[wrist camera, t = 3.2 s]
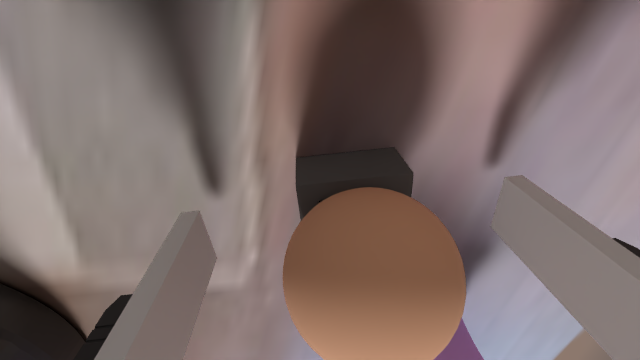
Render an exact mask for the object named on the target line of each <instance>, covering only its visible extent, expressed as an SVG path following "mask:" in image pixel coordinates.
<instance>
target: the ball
mask: <svg viewBox="0 0 640 360" xmlns="http://www.w3.org/2000/svg"><path fill="white" fill-rule="evenodd" d="M283 289H284V295H285V300H286V304H287V307H288V310H289V313H290V316H291V318H292V320H293V322H294V324H295V326H296V328H297V329H298V331H299V333H300V335H301V336H302V337H303V338H304V340H305V341H306V342H307V344H308V345H309V346H310V347H311V348H312V349H313V350H314V351H315V352H316V353H317V354H318V355H320V356H321V357H322V358H323V359H324V360H433V359H435V358H436V357H437V356H438V355H439V354H440V353H441V352H442V351H443V350H444V349H445V347H446V346H447V345H448V344H449V342H450V341H451V339H452V337H453V336H454V334H455V332H456V330H457V329H458V326H459V323H460V320H461V318H462V315H463V311H464V305H465V299H466V276H465V271H464V266H463V262H462V258H461V255H460V253H459V250H458V247H457V245H456V243H455V241H454V239H453V238H452V236H451V234H450V233H449V231H448V230H447V228H446V227H445V226H444V224H443V223H442V222H441V221H440V220H439V218H438V217H437V216H436V215H435V214H433V213H432V212H431V211H430V210H429V209H428V208H426V207H425V206H424V205H422V204H421V203H419V202H418V201H416V200H414V199H413V198H411V197H409V196H407V195H404V194H402V193H399V192H396V191H393V190H389V189H384V188H376V187H363V188H355V189H350V190H346V191H343V192H340V193H337V194H335V195H332V196H330V197H328V198H327V199H325V200H323V201H322V202H320V203H319V204H317V205H316V206H315V207H314V208H313V209H312V210H311V211H310V212H309V213H308V214H307V215H306V216H305V217H304V218H303V219H302V220H301V222H300V223H299V225H298V226H297V228H296V230H295V231H294V233H293V235H292V237H291V239H290V242H289V244H288V247H287V250H286V254H285V258H284V265H283Z"/></svg>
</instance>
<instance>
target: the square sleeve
mask: <svg viewBox="0 0 640 360" xmlns="http://www.w3.org/2000/svg"><path fill="white" fill-rule="evenodd" d="M412 183H413V172H412V170H411V169H410V168H409V166H408V165H407V164H406V162H405V161H404V160H403V158H402V157H401V156H400V154H399V153H398V152H397V150H396V149H395V148H394V147H393V148H384V149H374V150H365V151H356V152H346V153H337V154H328V155H318V156H309V157H300V158H296V191H297V198H298V205H299V211H300V218H301V220H302V219H303V218H304V217H305V216H306V215H307V214H308V213H309V212H310V211H311V210H312V209H313V208H314V207H315V206H316V205H317V204H318V201H319V200H325V199H327V198H328V197H330V196H332V195H335V194H337V193H340V192H343V191H346V190H350V189H355V188H363V187H376V188H384V189H389V190H393V191H396V192H399V193H402V194H404V195H407V196H409V197H411V194H412Z"/></svg>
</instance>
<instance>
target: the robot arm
mask: <svg viewBox="0 0 640 360" xmlns="http://www.w3.org/2000/svg"><path fill="white" fill-rule="evenodd" d="M491 228H492V229H493V230H494V231H495V232H496V233H497V234H498V236H499V237H500V238H501V239H502V240H503V241H504V242H505V243H506V244H507V245H508V246H509V247H510V249H511V250H512V251H513V252H514V253H515V254H516V255H517V256H518V257H519V258H520V259H521V260H522V262H523V263H524V264H525V265H526V266H527V267H528V268H529V269H530V270H531V271H532V272H533V273H534V275H535V276H536V277H537V278H538V279H539V280H540V281H541V282H542V283H543V284H544V285H545V286H546V288H547V289H548V290H549V291H550V292H551V293H552V294H553V295H554V296H555V297H556V298H557V299H558V301H559V302H560V303H561V304H562V305H563V306H564V307H565V308H566V309H567V310H568V311H569V313H570V314H571V315H572V316H573V317H574V318H575V319H576V320H577V321H578V322H579V323H580V324H581V326H582V327H583V328H584V329H585V330H586V331H587V332H588V333H589V334H590V335H591V336H592V337H593V338H594V340H595V341H596V342H597V343H598V344H599V345H600V346H601V347H602V348H603V349H604V350H605V351H606V353H607V354H608V355H609V356H610V357H611V358H612V359H613V360H640V250H639V249H638V248H636V247H634V246H631V245H629V244H627V243H625V242H623V241H621V240H619V239H616V238H611V237H609V236H608V235H606V234H605V233H603V232H602V231H601V230H599V229H598V228H596V227H595V226H594V225H592V224H591V223H589V222H588V221H586V220H585V219H584V218H582V217H581V216H579V215H578V214H576V213H575V212H574V211H572V210H571V209H569V208H568V207H567V206H565V205H564V204H562V203H561V202H559V201H558V200H557V199H555V198H554V197H552V196H551V195H549V194H548V193H547V192H545V191H544V190H542V189H541V188H539V187H538V186H537V185H535V184H534V183H532V182H531V181H530V180H528V179H527V178H525V177H524V176H522V175H520V176H511V177H505V178H504V181H503V185H502V188H501V192H500V195H499V199H498V202H497V206H496V209H495V213H494V216H493V220H492V223H491ZM216 259H217V257H216V254H215V251H214V248H213V246H212V243H211V240H210V238H209V235H208V232H207V230H206V227H205V224H204V222H203V219H202V216H201V214H200V211H192V212H183V213H181V214H180V216H179V217H178V219H177V221H176V222H175V224H174V226H173V227H172V229H171V231H170V232H169V234H168V236H167V237H166V239H165V241H164V243H163V244H162V246H161V248H160V249H159V251H158V253H157V254H156V256H155V258H154V259H153V261H152V263H151V264H150V266H149V268H148V269H147V271H146V273H145V275H144V276H143V278H142V280H141V281H140V283H139V285H138V286H137V288H136V290H135V291H134V293H133V294H130V295H121V296H120V297H119V298H118V299H117V300H116V301H115V302H114V303H113V304H112V305H110V306H109V307H108V308H107V309H106V310H105V312H104V313H103V315H102V316H101V318H100V319H99V321H98V323H97V324H96V326H95V329H94V330H92V332H91V333H90V335H89V336H88V338H87V339H86V343H85V341H84V340H83V338H82V337H81V336H80V334H79V333H78V332H77V331H76V330H75V329H74V328H73V327H72V326H71V325H70V324H69V323H68V322H67V321H66V320H64V319H63V318H62V317H61V316H59V315H58V314H57V313H55V312H54V311H52V310H51V309H49V308H48V307H46V306H45V305H43V304H41V303H40V302H38V301H36V300H34V299H32V298H31V297H29V296H27V295H25V294H23V293H20V292H18V291H16V290H14V289H12V288H9V287H7V286H5V285H2V284H0V360H183V358H184V355H185V352H186V349H187V346H188V343H189V340H190V337H191V334H192V331H193V328H194V325H195V322H196V319H197V316H198V313H199V310H200V307H201V304H202V301H203V298H204V295H205V292H206V289H207V286H208V283H209V280H210V277H211V274H212V271H213V268H214V265H215V262H216Z"/></svg>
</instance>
